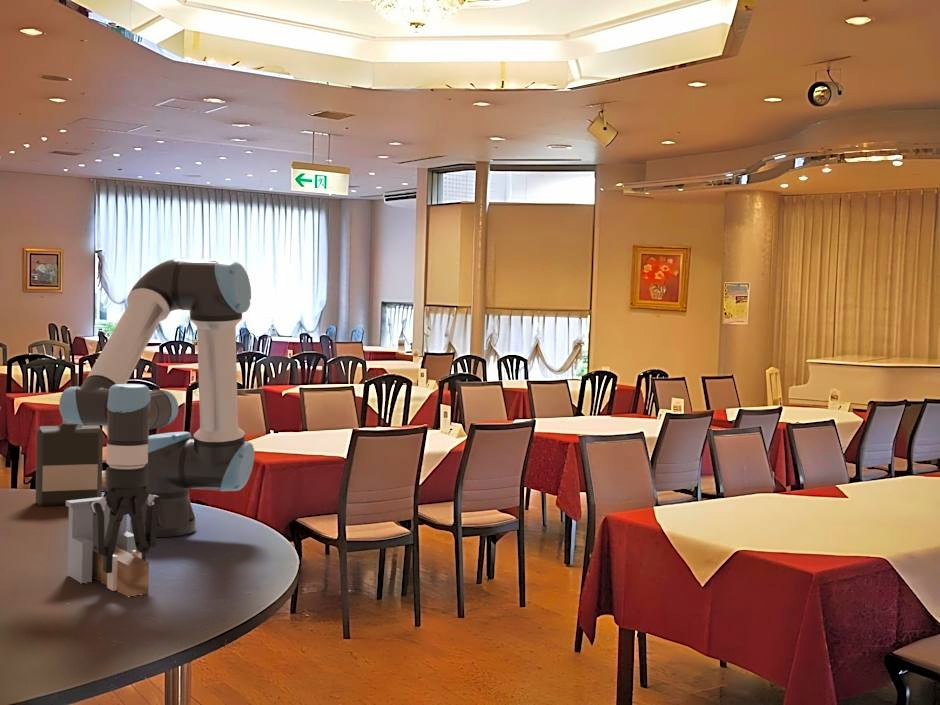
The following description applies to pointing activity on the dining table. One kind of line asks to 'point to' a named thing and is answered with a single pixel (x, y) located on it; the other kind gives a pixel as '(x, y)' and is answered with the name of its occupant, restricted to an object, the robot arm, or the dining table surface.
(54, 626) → the dining table surface
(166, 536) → the robot arm
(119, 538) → the grey u-shaped bracket
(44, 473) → the bottle
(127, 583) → the rail
